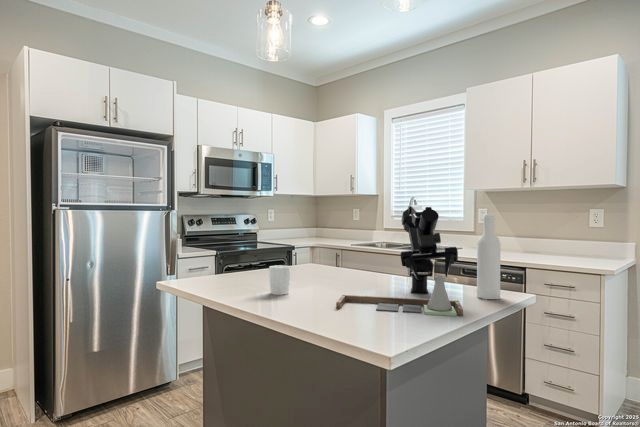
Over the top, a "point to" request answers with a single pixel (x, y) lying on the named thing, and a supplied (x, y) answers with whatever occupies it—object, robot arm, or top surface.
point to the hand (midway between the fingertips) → (431, 277)
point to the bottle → (488, 261)
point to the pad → (436, 312)
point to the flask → (439, 296)
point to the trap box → (394, 303)
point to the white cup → (279, 279)
